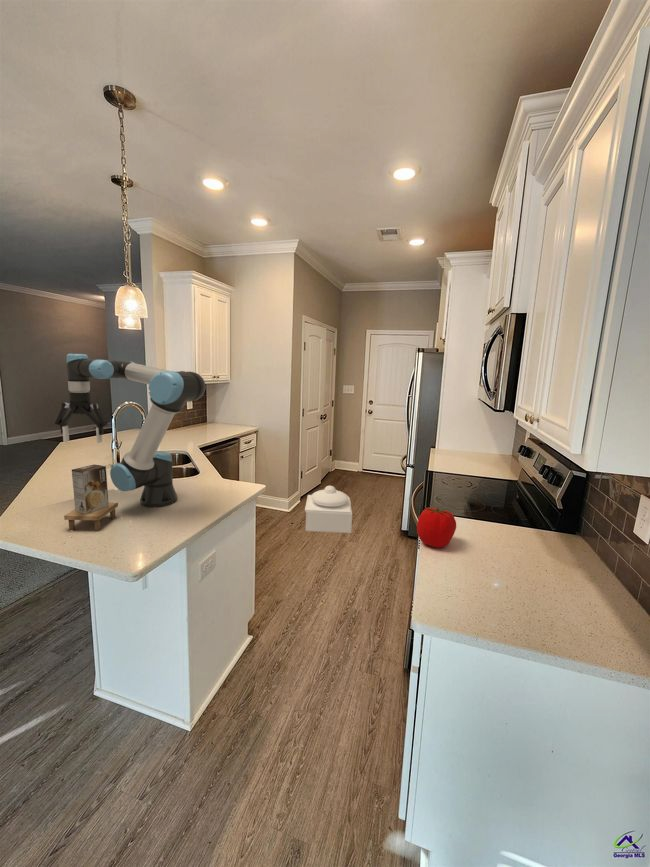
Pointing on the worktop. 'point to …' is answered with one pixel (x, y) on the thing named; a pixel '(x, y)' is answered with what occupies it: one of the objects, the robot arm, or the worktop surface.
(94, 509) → the coffee box
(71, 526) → the stool
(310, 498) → the white lidded dish
